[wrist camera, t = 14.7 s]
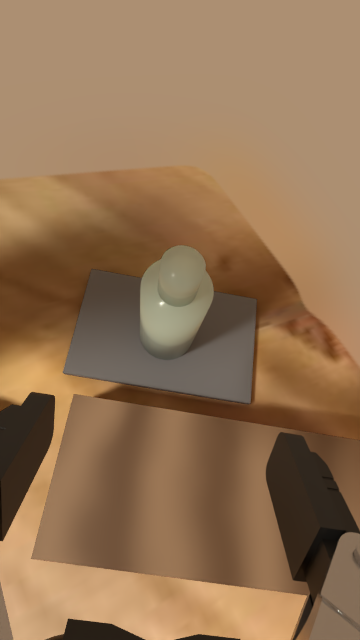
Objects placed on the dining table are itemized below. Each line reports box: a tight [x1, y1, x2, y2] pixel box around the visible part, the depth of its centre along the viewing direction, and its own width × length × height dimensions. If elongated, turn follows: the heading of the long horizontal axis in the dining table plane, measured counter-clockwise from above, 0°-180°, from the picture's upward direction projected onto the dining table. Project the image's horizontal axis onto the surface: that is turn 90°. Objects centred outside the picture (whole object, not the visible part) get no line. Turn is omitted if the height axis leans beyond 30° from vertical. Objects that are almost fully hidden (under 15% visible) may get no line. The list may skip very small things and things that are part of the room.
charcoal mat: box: [63, 269, 257, 404], centre depth 31 cm, size 16×10×1 cm, turn 82°
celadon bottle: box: [140, 245, 214, 360], centre depth 25 cm, size 5×5×12 cm
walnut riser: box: [31, 394, 360, 595], centre depth 25 cm, size 22×10×4 cm, turn 82°
